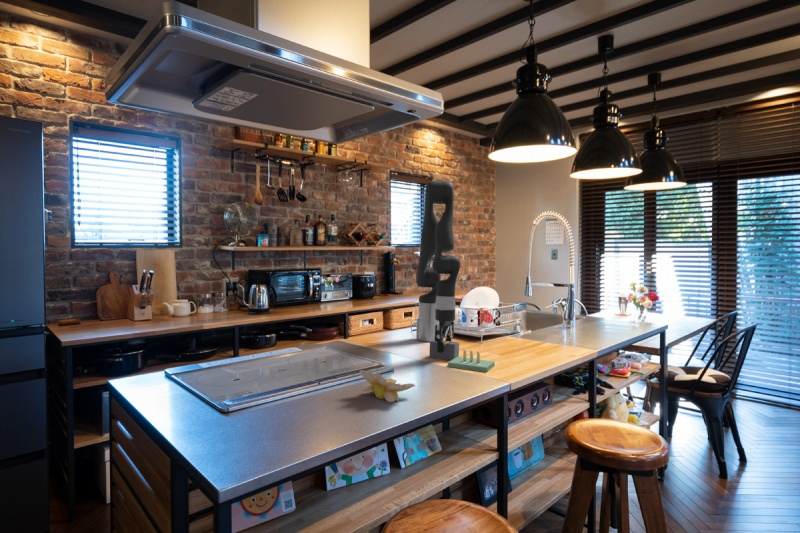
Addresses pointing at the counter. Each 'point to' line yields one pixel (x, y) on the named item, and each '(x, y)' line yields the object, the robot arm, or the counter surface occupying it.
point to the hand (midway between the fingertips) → (444, 350)
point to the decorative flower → (383, 386)
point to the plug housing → (445, 350)
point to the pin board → (471, 363)
